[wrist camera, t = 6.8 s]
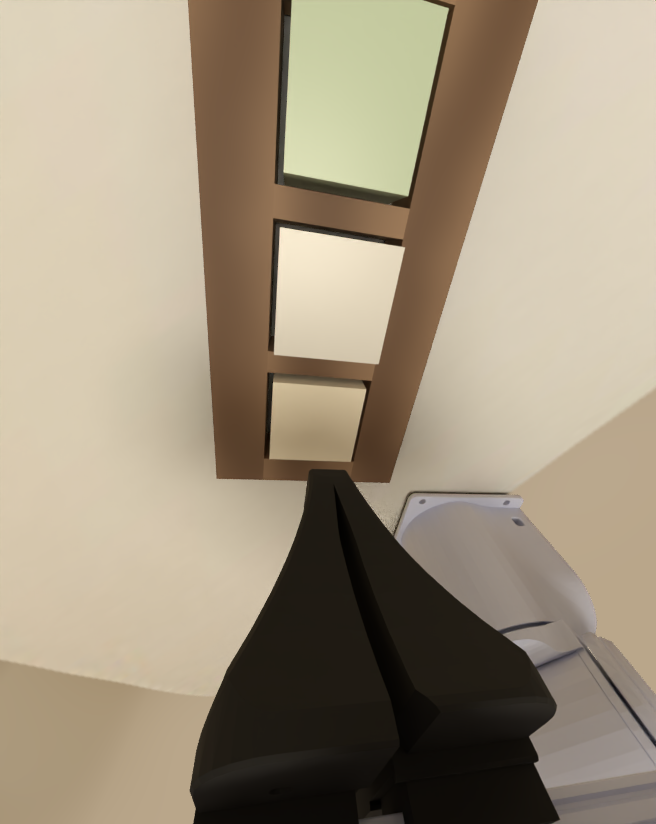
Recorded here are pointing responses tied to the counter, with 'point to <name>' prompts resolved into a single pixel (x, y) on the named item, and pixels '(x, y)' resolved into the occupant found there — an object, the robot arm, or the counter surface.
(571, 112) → the counter surface
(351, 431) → the cream key
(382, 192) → the sage key
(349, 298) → the ivory key
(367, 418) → the keypad board
